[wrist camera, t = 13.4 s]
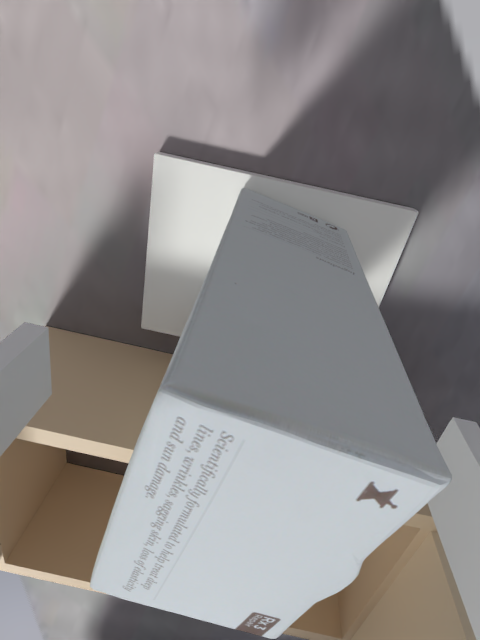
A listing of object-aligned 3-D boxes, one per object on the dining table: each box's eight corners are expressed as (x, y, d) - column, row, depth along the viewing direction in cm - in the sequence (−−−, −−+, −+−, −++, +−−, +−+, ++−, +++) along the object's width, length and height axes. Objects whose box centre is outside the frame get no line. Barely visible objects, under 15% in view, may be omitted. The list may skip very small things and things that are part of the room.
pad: (348, 367, 24) (350, 374, 24) (145, 321, 24) (141, 328, 24) (414, 208, 20) (418, 212, 19) (159, 151, 20) (154, 153, 19)
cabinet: (340, 531, 32) (370, 790, 20) (54, 467, 32) (-88, 687, 20) (407, 406, 25) (516, 685, 13) (44, 325, 25) (-180, 529, 13)
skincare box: (242, 183, 19) (143, 355, 6) (354, 230, 20) (481, 481, 7) (191, 321, 23) (68, 597, 10) (285, 357, 24) (280, 664, 11)
